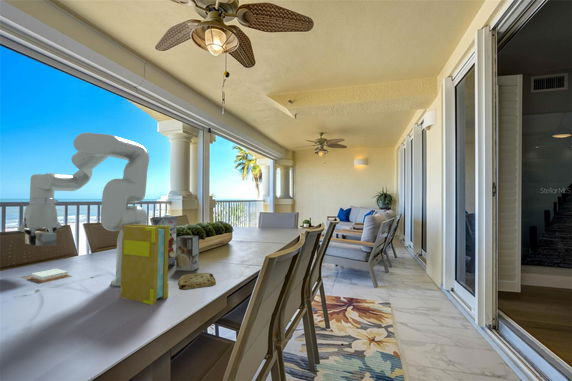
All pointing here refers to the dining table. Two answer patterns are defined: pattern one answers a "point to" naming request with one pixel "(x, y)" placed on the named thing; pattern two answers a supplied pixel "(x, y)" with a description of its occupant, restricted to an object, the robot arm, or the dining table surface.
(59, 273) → the tile
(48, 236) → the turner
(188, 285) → the pastry
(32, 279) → the board
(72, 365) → the dining table surface
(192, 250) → the coffee box
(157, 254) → the book
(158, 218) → the juice carton
